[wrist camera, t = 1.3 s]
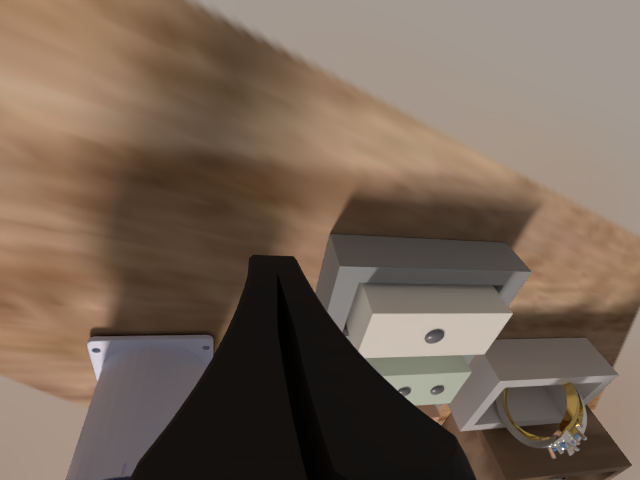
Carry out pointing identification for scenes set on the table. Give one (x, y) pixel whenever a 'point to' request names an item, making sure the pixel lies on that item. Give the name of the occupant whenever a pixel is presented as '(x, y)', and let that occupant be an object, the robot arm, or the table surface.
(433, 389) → the tile three sage
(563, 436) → the ring
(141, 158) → the table surface
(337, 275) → the button board
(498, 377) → the bracelet dish
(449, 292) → the tile one cream
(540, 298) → the table surface
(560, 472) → the box
